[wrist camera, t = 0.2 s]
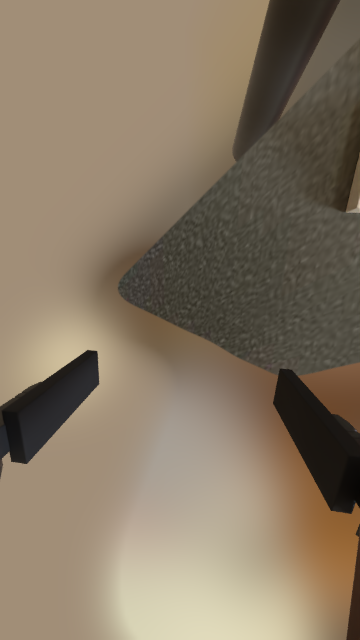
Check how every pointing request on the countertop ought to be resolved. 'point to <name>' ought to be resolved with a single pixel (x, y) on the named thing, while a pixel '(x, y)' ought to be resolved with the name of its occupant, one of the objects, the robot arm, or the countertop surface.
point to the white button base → (355, 192)
